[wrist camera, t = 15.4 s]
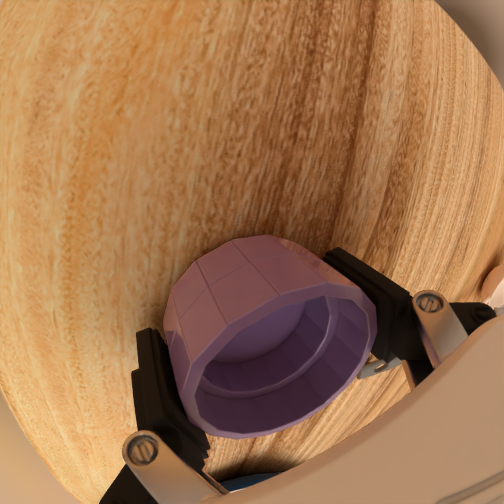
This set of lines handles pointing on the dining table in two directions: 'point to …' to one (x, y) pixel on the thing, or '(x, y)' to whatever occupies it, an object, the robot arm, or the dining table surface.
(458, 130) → the dining table surface
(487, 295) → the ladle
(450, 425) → the robot arm
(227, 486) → the plate
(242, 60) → the dining table surface
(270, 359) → the lavender bowl
